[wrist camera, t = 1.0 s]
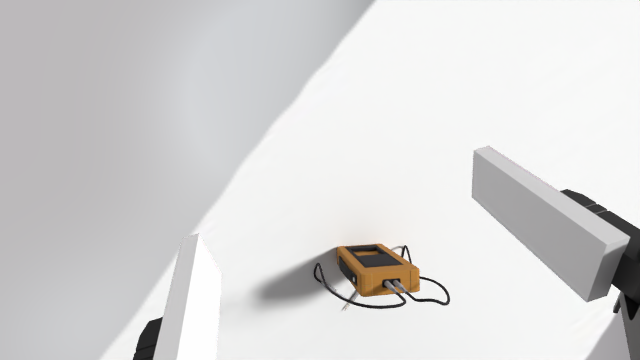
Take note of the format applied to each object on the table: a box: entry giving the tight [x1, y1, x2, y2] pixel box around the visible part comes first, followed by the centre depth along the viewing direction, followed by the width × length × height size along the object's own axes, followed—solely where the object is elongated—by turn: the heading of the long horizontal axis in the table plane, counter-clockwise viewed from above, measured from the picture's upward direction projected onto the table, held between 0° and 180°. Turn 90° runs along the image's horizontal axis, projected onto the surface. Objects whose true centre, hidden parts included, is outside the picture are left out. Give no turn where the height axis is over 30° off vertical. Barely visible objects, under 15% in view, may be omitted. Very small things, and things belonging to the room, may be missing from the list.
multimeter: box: [314, 244, 450, 311], centre depth 41 cm, size 15×10×20 cm
